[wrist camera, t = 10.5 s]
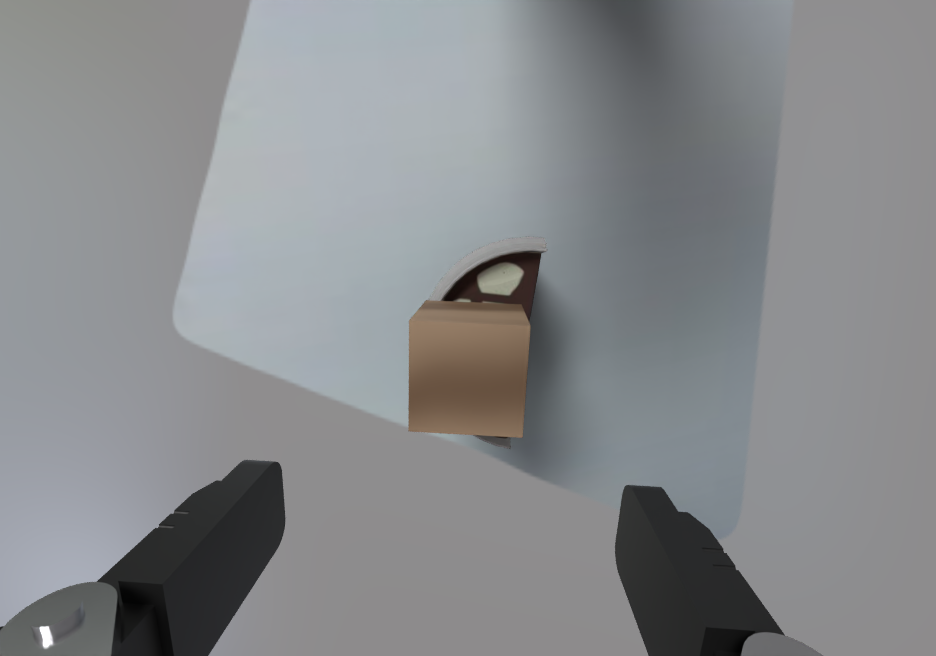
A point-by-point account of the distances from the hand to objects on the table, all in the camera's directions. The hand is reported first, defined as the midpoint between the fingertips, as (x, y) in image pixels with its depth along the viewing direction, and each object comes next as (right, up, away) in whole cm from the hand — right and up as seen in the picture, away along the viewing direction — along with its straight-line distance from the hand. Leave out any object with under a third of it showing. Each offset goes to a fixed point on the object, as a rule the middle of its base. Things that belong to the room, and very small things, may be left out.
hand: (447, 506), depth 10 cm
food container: (+1, +6, +23) cm, 24 cm away
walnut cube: (+1, +3, +13) cm, 14 cm away
